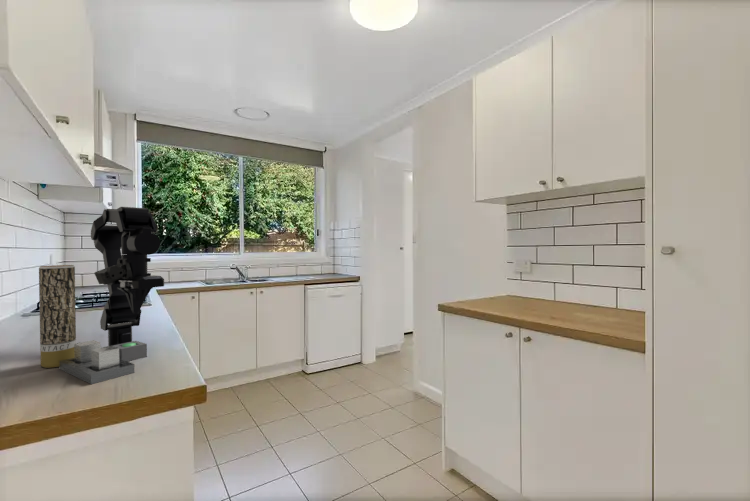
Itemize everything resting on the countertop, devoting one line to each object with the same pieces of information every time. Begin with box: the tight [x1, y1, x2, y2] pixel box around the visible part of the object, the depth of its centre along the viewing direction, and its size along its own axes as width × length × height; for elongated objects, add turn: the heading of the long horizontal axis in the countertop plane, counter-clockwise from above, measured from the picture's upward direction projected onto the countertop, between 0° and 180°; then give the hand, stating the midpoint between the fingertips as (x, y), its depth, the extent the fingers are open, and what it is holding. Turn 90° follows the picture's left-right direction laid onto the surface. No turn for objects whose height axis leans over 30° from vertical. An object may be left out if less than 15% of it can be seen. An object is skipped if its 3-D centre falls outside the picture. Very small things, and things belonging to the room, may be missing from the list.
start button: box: [122, 343, 136, 347], centre depth 97 cm, size 3×3×2 cm
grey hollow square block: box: [113, 340, 148, 362], centre depth 97 cm, size 6×6×4 cm
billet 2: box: [91, 346, 119, 372], centre depth 84 cm, size 4×4×6 cm
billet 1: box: [74, 339, 101, 364], centre depth 89 cm, size 4×4×6 cm
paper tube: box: [38, 264, 77, 369], centre depth 91 cm, size 7×7×25 cm
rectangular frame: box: [59, 358, 135, 385], centre depth 87 cm, size 18×8×2 cm, turn 57°
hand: (135, 313), depth 96 cm, fingers closed
